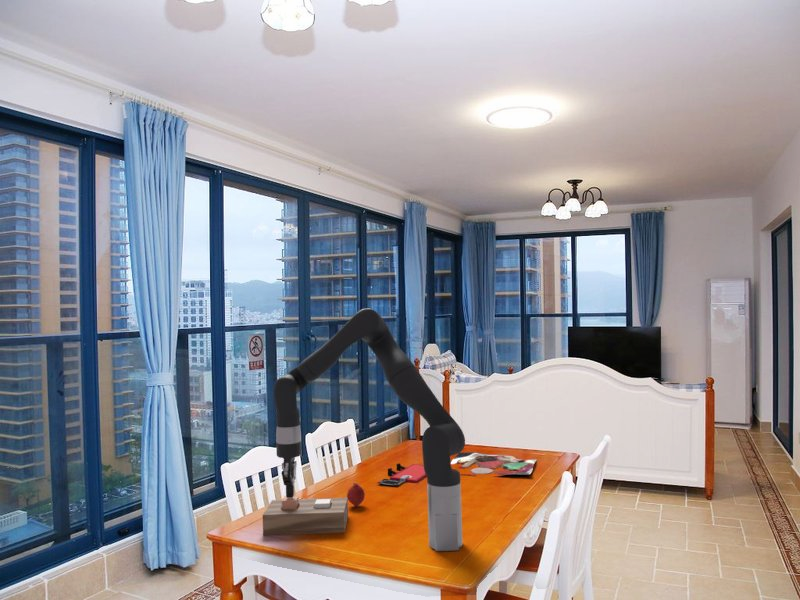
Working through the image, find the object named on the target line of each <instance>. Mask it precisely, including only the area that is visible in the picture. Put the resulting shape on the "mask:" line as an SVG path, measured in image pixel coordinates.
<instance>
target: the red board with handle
mask: <svg viewBox="0 0 800 600" xmlns="http://www.w3.org/2000/svg"><path fill="white" fill-rule="evenodd" d="M397 471H399V472H397ZM387 476H389V478H383V479H382V480H380V481H378V482H377V484H380V485H381V484H382V485H388V486H389V485H390V486H399V485H401V484H402V483H413V484H414V483H415V484H417V483H419V482H421V481H422V480H423V479H424V478H427V476H426V474H425V471H424V464H415V463H412V464H411V465H409V466H407V467H406V466H404V465H401V463H400V462H399V463H397V464H396V471H395V470H393V468H392V467H389V468H387Z"/></svg>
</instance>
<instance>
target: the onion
mask: <svg viewBox="0 0 800 600" xmlns="http://www.w3.org/2000/svg"><path fill="white" fill-rule="evenodd" d="M365 494H366V493H365V490H364V489H363V488H362V487H361V485H359V484H358V483H357V482H354V483H353V484H352V486H350V488H349V489H348V490H347V494H346V496H347V497H346V498H348V503H350V504H351V505H353V506H354V508H355V507H356V508H357V507H359V505H361V504H362V503H363V502H364V500H365V496H366V495H365Z"/></svg>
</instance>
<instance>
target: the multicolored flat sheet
mask: <svg viewBox="0 0 800 600" xmlns="http://www.w3.org/2000/svg"><path fill="white" fill-rule="evenodd" d="M536 462H537V459H520V458H518V457H515V456H513V455H505V454H486V453H480V452H475V451H473V452H472V451H471V452H468V451H467V452H460V453H458V454H455V457H453V459H451V465H460V466H458V467H457V468H458V469H463V470H464V469H469V468H470V467H472V466H473V465H475V464H476V465H475V466H477V467H475V468H472V469H470V470H469V472H470V473H464V474H461V473H460V476H473V477H474V476H476V477H477V475H491V474H493V475H495V476H494V478H495V477H498V476H499V477H502V476H506V475H527V476H529V475H531V473H533V469H534V467H535V463H536ZM499 468H502V470H496V469H499Z"/></svg>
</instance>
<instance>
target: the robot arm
mask: <svg viewBox="0 0 800 600" xmlns="http://www.w3.org/2000/svg"><path fill="white" fill-rule="evenodd" d="M359 340H362V341H363V342H364V343H366V345H367V346H368V347H369V348H370V350H371V351H372V352H373V353H374V356H376V358H377V359H378V361H379V363H380V366H381V368H382V371H383V375H384V377H385V379H386V381H387V383H388V384H389V386H390V387H391V389H392V391H393V392H394V393H395V395H396V396H397V398H398V399H399V400H400V401H401V402H403V403H404V404H405V405H406V406H408V407H409V408H411V409H412V410H413V411H415V412H416V413H417V414H418V415H420V416H421V417H422V418H423V419H424V420H425V421H426V422H427V424H428V425H429V427H427V428H426V429H425V430H424V432H423V435H422V439H421V446H422V447H421V448H422V450H421V451H422V462H423V464H422V465H424V471H425V474H426V481H427V482H426V484H427V487H426V490H427V517H428V518H427V520H428V521H427V522H428V525H427V526H428V545H429V547H430V548H432V549H433V550H435V552H449V551H453V552H454V551H459V550H460V549H461V548H462V546H463V522H462V521H463V519H462V518H463V517H462V494H461V493H462V491H461V490H462V489H461V486H462V485H461V483H462V482H461V473H460V471H459V470H457V469H455V468H452V464H451V462H452V460H451V457H452V456H456V455H457V454H458V453H462V452H463V450H464V449H465V444H466V438H465V435H464V434H465V433H464V432H463V430H462V428H461V426H460V425H459V423H457V422H456V420H455V419H454V418H453V417H452V416H451V414H450V413H449V412H448V411H447V410H446V408H445V407H444V406H443V405H442V403H441V402H440V401H439V399H438V398H437V396H436V395H435V394H434V393H433V390H432V389H431V388H430V387H429V385H428V383H427V382H426V381H425V379H424V377H423V376H422V375H421V373H420V372H419V370H418V368H417V367H416V365H415V364H414V363H413V362H412V360H411V359H410V358H409V357H408V356H407V355H406V353H405V352H404V351H403V350H402V349H401V348H400V346H399V345H398V344H397V342H396V340H395V338H394V337H393V335H392V333H391V330H390V329H389V327H388V325H387V323H386V320H384V318H383V317H382V315H380V314H379V312H377V311H376V310H375V309H372V308H368V307H367V308H362V309H360V310H358V311H357V312H356V313H354V315H353V316H352V317H351V318H350V319H349V320H348V321H347V322H346V323H345V324H344V325H343V326H342V327H340V329H339V330H338V331H337V332H336V333H334V335H333V336H332V337H331V338H330V339H329V340H328V341H326V342H325V343H324V344H323V345H322V346H321V347H319V348H318V349H316V350H315V351H314V352H313V353H311V354H310V355H309V356H307V357H306V358H305V359H303V360H302V361H301V362H300V363H299V364H298V366H296V367H294V368H293V369H291V370H290V371H289V372H287V373H286V374H285V375H282V376H281V377H279V378H277V380H276V381H275V383H274V385H273V399H274V405H275V409H276V432H275V438H276V439H275V441H276V443H275V444H276V446H275V447H276V456H277V458H279V459H281V458H282V460H283V461H282V463H281V469H282V471H281V478H282V481H283V485H284V486H285V496H286V497H287V498H292V497H293V496H295V485H294V484H295V480H296V479H297V478H296V476H297V466H298V465H297V460H296V458H298V457H300V456H301V455H302V432H301V430H302V429H301V426H300V425H301V423H300V421H301V419H300V415H301V414H300V408H299V407H298V402H297V401H298V400H297V398H298V397H297V394H298V393H300V392H301V391H302V390H304V389H305V388H306V387H307V386H308V385H309V384H311V383H312V382H314V381H316V380H318V379H319V378H320V377H321V376H323V375H324V374H326V373H327V371H329V370H331V368H332V367H333V366H335V364H336V363H337V362H338V360H339V359H340V358H341V356H342V355H343V354H344V352H346V351H347V349H349V347H351V346H352V345H353V344H355V343H357V342H358V341H359Z"/></svg>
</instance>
